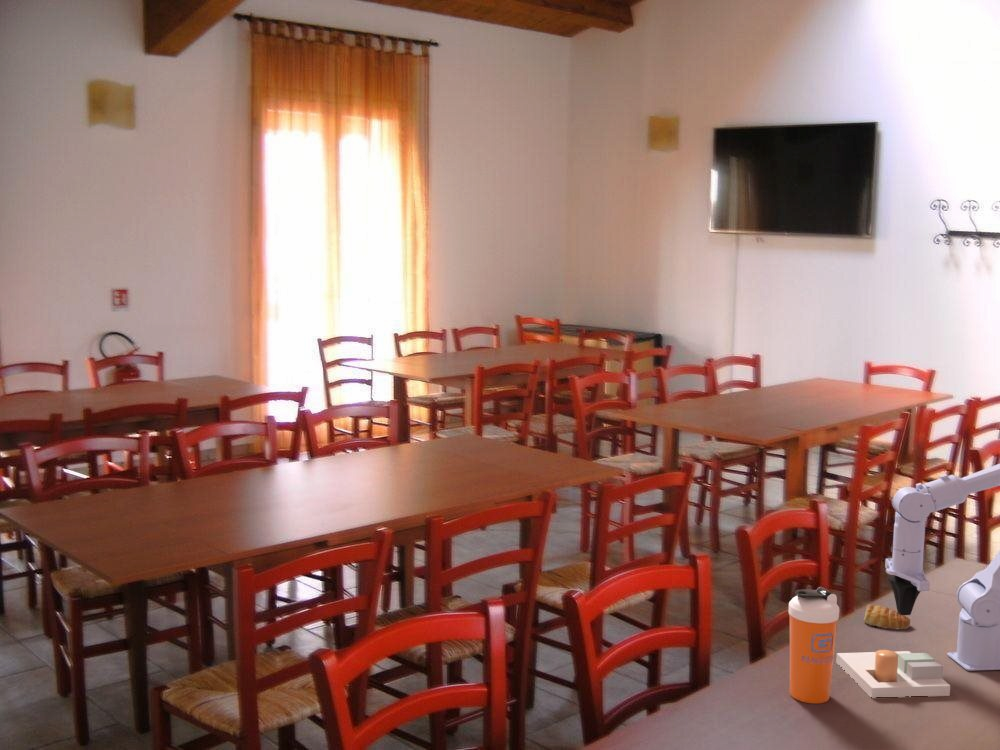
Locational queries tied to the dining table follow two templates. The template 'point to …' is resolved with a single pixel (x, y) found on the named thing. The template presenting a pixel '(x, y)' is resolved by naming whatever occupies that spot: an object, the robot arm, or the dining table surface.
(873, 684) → the housing
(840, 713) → the dining table surface
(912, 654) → the block
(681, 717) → the dining table surface
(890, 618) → the pastry
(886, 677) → the peg
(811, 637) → the shaker bottle
